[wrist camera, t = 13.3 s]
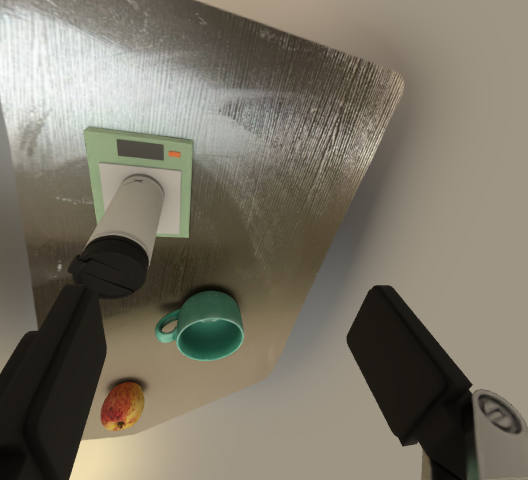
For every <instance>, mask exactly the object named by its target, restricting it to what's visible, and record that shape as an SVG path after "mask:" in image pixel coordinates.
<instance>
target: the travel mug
mask: <svg viewBox="0 0 528 480" xmlns="http://www.w3.org/2000/svg"><path fill="white" fill-rule="evenodd" d="M163 202H164V190H163V188H162V186H161V185H160V183H159V182H158V181H157V180H155V179H154V178H152V177H150V176H148V175H144V174H134V175H131V176H128V177H127V178H125V179H124V180H123V181H122V183H121V185H120V187H119V188H118V190H117V192H116V194H115V195H114V197H113V199H112V201H111V202H110V204H109V206H108V208H107V209H106V211H105V213H104V215H103V216H102V218H101V220H100V222H99V223H98V225H97V227H96V229H95V230H94V232H93V234H92V236H91V237H90V239H89V241H88V243H87V244H86V246H85V248H84V250H83V253H82V254H81V256H80V255H77V256H75V258H74V259H73V260H72V262H71V263H70V265H69V268H68V272H69V273H71V274H72V276H73V280H74V283H75V284H89V285H90V288H91V289H96V290H97V293H98V298H100V299H120V298H124V297H128V296H129V295H131V294H133V293H134V292H135V291H137V290H138V289H139V288H140V287H142V285H143V284H144V282H145V278H146V275H147V270H148V268H149V265H150V260H151V256H152V251H153V247H154V242H155V238H156V234H157V229H158V225H159V220H160V216H161V211H162V207H163ZM79 257H80V258H79Z"/></svg>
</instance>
